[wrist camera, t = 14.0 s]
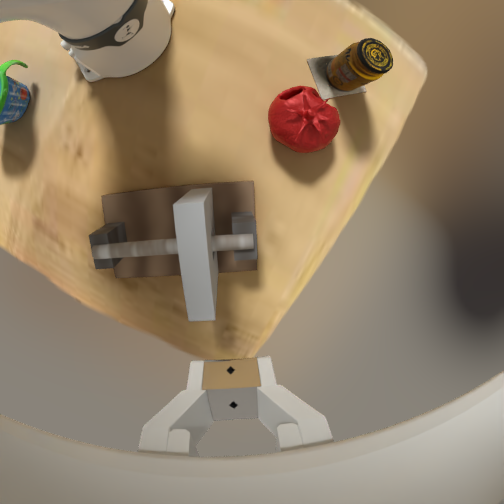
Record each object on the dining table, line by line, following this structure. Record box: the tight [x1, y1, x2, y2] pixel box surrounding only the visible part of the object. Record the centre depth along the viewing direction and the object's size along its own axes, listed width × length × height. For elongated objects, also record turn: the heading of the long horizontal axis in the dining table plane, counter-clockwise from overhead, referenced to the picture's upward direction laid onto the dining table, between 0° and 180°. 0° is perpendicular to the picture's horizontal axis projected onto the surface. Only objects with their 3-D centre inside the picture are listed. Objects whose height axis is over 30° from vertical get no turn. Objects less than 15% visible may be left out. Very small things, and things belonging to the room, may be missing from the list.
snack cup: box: [0, 60, 30, 125], centre depth 26 cm, size 16×10×10 cm
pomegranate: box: [268, 86, 340, 153], centre depth 34 cm, size 10×10×9 cm
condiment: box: [307, 38, 393, 100], centre depth 31 cm, size 7×8×12 cm
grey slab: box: [173, 188, 218, 321], centre depth 35 cm, size 3×13×14 cm, turn 2°
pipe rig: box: [89, 181, 257, 278], centre depth 38 cm, size 24×14×9 cm, turn 92°
